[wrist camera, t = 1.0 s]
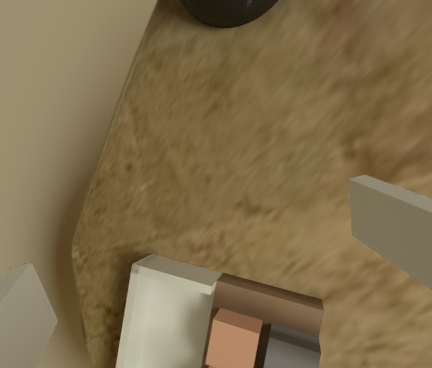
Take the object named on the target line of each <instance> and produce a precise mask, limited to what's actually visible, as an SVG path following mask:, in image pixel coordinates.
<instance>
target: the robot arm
mask: <svg viewBox="0 0 432 368" xmlns="http://www.w3.org/2000/svg"><path fill="white" fill-rule="evenodd" d="M181 1H182V3H183V4H184V6H185V7H186V9H187V10H188V11H189V12H190V13H191V14H192V15H193V16H194V17H195V18H197V19H198V20H200V21H201V22H203V23H206V24H208V25H212V26H216V27H233V26H239V25H242V24H245V23H248V22H250V21H252V20H254V19H256V18H258V17H260V16H261V15H263V14H264V13H265V12H267V11H268V10H269V9H270V8H271V7H272V6H273V5H274V4H275V3H276V2H277V1H278V0H181ZM349 186H350V205H351V224H352V235H353V236H354V237H356V238H357V239H358V240H360V241H361V242H363V243H364V244H366V245H367V246H369V247H370V248H372V249H373V250H375V251H376V252H377V253H379V254H380V255H382V256H383V257H385V258H386V259H388V260H389V261H391V262H392V263H394V264H395V265H396V266H398V267H399V268H401V269H402V270H404V271H405V272H407V273H408V274H410V275H411V276H413V277H414V278H415V279H417V280H418V281H420V282H421V283H423V284H424V285H426V286H427V287H429V288H430V289H432V198H429V197H426V196H423V195H420V194H417V193H415V192H412V191H409V190H406V189H403V188H401V187H398V186H395V185H392V184H389V183H386V182H384V181H381V180H378V179H375V178H372V177H370V176H367V175H363V176H359V177H355V178H351V179H349ZM57 321H58V320H57V318H56V315H55V313H54V311H53V309H52V306H51V304H50V302H49V300H48V297H47V295H46V293H45V291H44V289H43V286H42V284H41V282H40V280H39V278H38V275H37V273H36V271H35V269H34V267H33V264H32V262H31V263H27V264H24V265H20V266H16V267H12V268H10V269H9V270H8V271H7V272H6V273H5V275H4V276H3V277H2V278H1V279H0V368H37V367H38V365H39V362H40V360H41V358H42V356H43V353H44V351H45V349H46V347H47V344H48V342H49V340H50V338H51V335H52V333H53V331H54V328H55V326H56V324H57Z"/></svg>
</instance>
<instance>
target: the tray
mask: <svg viewBox="0 0 432 368" xmlns="http://www.w3.org/2000/svg"><path fill="white" fill-rule="evenodd" d="M221 274H222V273H221V272H218V271H214V270H210V269H207V268H203V267H199V266H196V265H192V264H188V263H184V262H181V261H177V260H173V259H170V258H166V257H162V256H159V255H155V254H151V255H149V256H147V257H145V258H143V259H141V260H139V261H137V262H135V263H133V264H132V269H131V275H130V282H129V288H128V294H127V300H126V306H125V313H124V319H123V325H122V331H121V337H120V343H119V350H118V356H117V362H116V368H201V365H202V360H203V354H204V348H205V343H206V337H207V331H208V326H209V320H210V315H211V309H212V303H213V298H214V292H215V286H216V281H217V279H218V278H219V277H220V276H221Z"/></svg>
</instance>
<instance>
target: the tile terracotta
mask: <svg viewBox="0 0 432 368" xmlns="http://www.w3.org/2000/svg"><path fill="white" fill-rule="evenodd" d="M262 322H263V321H262V320H259V319H256V318H253V317H249V316H246V315H243V314H239V313H236V312H233V311H230V310H226V309H223V308H220V309H219V311H218V312H217V314H216V316H215V317H214V319H213V324H212V329H211V335H210V341H209V346H208V352H207V357H206V363H205V364H207V365H209V366H212V367H215V368H254V365H255V359H256V354H257V349H258V344H259V338H260V333H261V328H262Z"/></svg>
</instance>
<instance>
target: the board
mask: <svg viewBox="0 0 432 368" xmlns="http://www.w3.org/2000/svg"><path fill="white" fill-rule="evenodd" d="M220 308H223V309H226V310H230V311H233V312H236V313H239V314H243V315H246V316H249V317H253V318H256V319H259V320H262V321H263V322H262V328H261V333H260V338H259V344H258V349H257V354H256V359H255V365H254V368H263V367H264V361H265V356H266V351H267V346H268V340H269V335H270V330H271V324H276V325H279V326H282V327H286V328H289V329H292V330H295V331H299V332H302V333H305V334H309V335H312V336H315V337H319V332H320V327H321V322H322V317H323V312H324V309H323V304H322V300H321V299H318V298H314V297H310V296H307V295H303V294H299V293H295V292H292V291H288V290H284V289H281V288H277V287H273V286H270V285H266V284H262V283H258V282H255V281H251V280H247V279H244V278H240V277H236V276H233V275H229V274H225V273H222V274H221V276H220V277H219V278H218V279H217V281H216V286H215V292H214V298H213V303H212V309H211V315H210V320H209V326H208V331H207V337H206V343H205V348H204V354H203V360H202V365H201V368H209V365H207V364H205V363H206V357H207V352H208V346H209V341H210V335H211V329H212V324H213V319H214V317H215V316H216V314H217V312H218V311H219V309H220Z"/></svg>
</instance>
